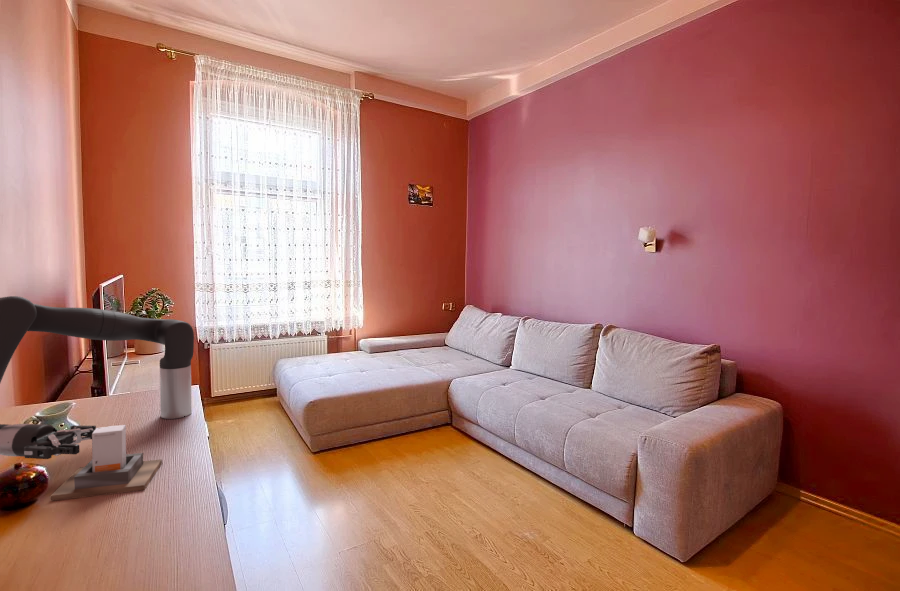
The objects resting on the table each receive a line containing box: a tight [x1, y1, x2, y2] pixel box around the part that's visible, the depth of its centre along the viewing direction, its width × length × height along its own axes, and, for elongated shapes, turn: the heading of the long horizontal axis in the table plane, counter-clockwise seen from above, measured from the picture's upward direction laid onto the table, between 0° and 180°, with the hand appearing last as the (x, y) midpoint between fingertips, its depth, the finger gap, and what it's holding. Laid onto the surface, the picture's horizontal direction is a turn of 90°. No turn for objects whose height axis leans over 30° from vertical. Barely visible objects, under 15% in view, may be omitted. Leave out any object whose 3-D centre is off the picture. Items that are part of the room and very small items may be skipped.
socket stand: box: [50, 452, 163, 502], centre depth 108 cm, size 14×18×4 cm
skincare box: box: [91, 424, 127, 472], centre depth 108 cm, size 6×4×12 cm
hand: (92, 441), depth 107 cm, fingers open, 8 cm apart
